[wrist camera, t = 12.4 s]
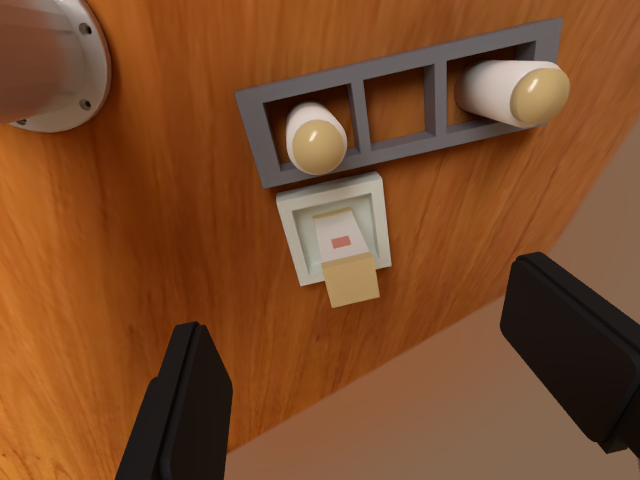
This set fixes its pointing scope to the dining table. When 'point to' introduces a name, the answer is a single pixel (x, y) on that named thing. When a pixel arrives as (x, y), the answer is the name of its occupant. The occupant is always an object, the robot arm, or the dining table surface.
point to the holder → (531, 46)
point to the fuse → (345, 258)
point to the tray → (330, 196)
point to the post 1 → (314, 138)
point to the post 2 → (512, 91)
